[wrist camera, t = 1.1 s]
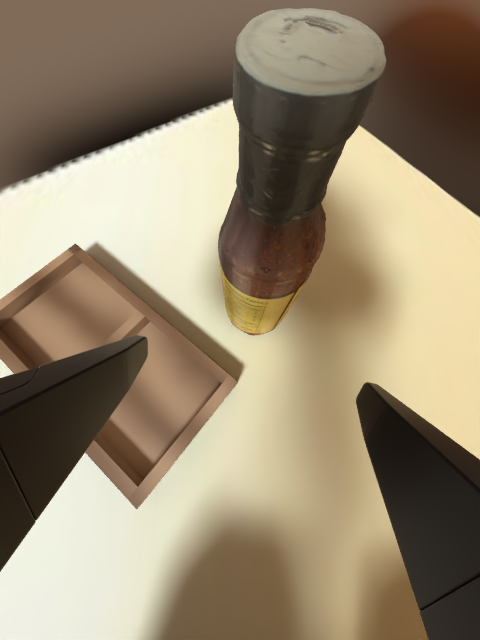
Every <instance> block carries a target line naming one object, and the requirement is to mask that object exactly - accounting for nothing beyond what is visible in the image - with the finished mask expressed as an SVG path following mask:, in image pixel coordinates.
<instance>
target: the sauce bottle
mask: <svg viewBox="0 0 480 640" xmlns="http://www.w3.org/2000/svg"><path fill="white" fill-rule="evenodd" d="M385 66H386V58H385V55H384V47H383V43H382V42H381V40H380V39H379V37H378V36H377V35H376V34H375V32H374V31H372V30H371V29H369V28H368V26H367V25H364V24H362V23H361V22H360V21H358V20H356V19H353V18H351V17H349V16H345V15H340V14H339V13H337V12H335V11H330V10H321V9H310V8H305V9H297V10H296V9H289V8H286V9H280V10H272V11H268V12H266V13H263V14H261V15H260V16H257V17H255V18H253V19H252V20H251V21H250V22H249V23H248V24H247V25H246V26H245V27H244V29H243V31H242V32H241V33H240V35H239V36H238V37H237V39H236V43H235V47H234V73H233V106H234V110H235V113H236V116H237V120H238V122H239V170H238V173H237V179H236V184H237V188H236V190H235V193H234V196H233V198H232V201H231V204H230V207H229V209H228V212H227V215H226V218H225V220H224V223H223V225H222V227H221V230H220V233H219V241H218V252H219V260H220V266H221V274H222V281H223V288H224V296H225V304H226V311H227V314H228V316H229V318H230V320H231V322H232V323H233V325H235V326H236V327H237V328H238V329H240V330H241V331H243V332H245V333H247V334H249V335H260V334H264V333H267V332H269V331H271V330H273V329H274V328H275V327H276V326H277V325H278V324H279V323H280V322H281V321H282V319H283V318H284V316H285V315H286V313H287V312H288V310H289V308H290V307H291V305H292V303H293V302H294V300H295V299H296V297H297V295H298V294H299V292H300V291H301V289H302V287H303V286H304V284H305V282H306V281H307V279H308V277H309V276H310V273H311V271H312V268H313V266H314V264H315V263H316V261H317V259H318V258H319V256H320V254H321V252H322V249H323V245H324V241H325V221H326V218H325V215H326V214H325V212H324V210H323V208H322V205H321V202H322V200H323V199H324V197H325V194H326V189H327V184H328V182H329V179H330V177H331V175H332V173H333V170H334V168H335V166H336V164H337V162H338V159H339V157H340V156H341V153H342V150H343V148H344V145H345V143H346V141H347V140H348V139H349V138H350V137H351V135H352V134H353V133H354V132H355V130H356V129H357V127H358V126H359V124H360V122H361V120H362V118H363V117H364V115H365V112H366V110H367V108H368V106H369V104H370V103H371V101H372V99H373V96H374V93H375V91H376V89H377V87H378V85H379V82H380V80H381V77H382V75H383V72H384V69H385Z"/></svg>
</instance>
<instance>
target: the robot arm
mask: <svg viewBox="0 0 480 640" xmlns="http://www.w3.org/2000/svg"><path fill="white" fill-rule="evenodd" d="M147 356H148V339H147V337H145V336H141V335H134V336H131V337H128V338H125V339H122V340H119V341H116V342H113V343H110V344H106V345H103V346H100V347H97V348H94V349H91V350H88V351H85V352H82V353H78V354H75V355H72V356H69V357H66V358H63V359H60V360H57V361H54V362H50V363H47V364H44V365H41V366H40V367H35V368H32V369H29V370H26V371H22V372H19V373H16V374H13V375H9V376H6V377H3V378H0V571H1V570H2V569H3V567H4V566H5V564H6V563H7V562H8V560H9V559H10V557H11V556H12V554H13V553H14V552H15V550H16V549H17V547H18V546H19V545H20V543H21V542H22V540H23V539H24V538H25V536H26V535H27V533H28V532H29V531H30V529H31V528H32V526H33V525H34V524H35V520H37V519H38V518H39V516H40V515H41V513H42V512H43V511H44V509H45V508H46V506H47V505H48V504H49V502H50V501H51V499H52V498H53V496H54V495H55V494H56V492H57V491H58V489H59V488H60V487H61V485H62V484H63V482H64V481H65V480H66V478H67V477H68V475H69V474H70V473H71V471H72V470H73V468H74V467H75V466H76V464H77V463H78V461H79V460H80V458H81V457H82V456H83V454H84V453H85V451H86V450H87V449H88V447H89V446H90V444H91V443H92V442H93V440H94V439H95V437H96V436H97V435H98V433H99V432H100V430H101V429H102V428H103V426H104V425H105V423H106V422H107V420H108V419H109V418H110V416H111V415H112V413H113V412H114V411H115V409H116V408H117V406H118V405H119V404H120V402H121V401H122V399H123V398H124V397H125V395H126V394H127V392H128V391H129V389H130V388H131V386H132V384H133V382H134V381H135V379H136V377H137V375H138V373H139V372H140V370H141V368H142V366H143V364H144V363H145V361H146V359H147ZM356 404H357V409H358V414H359V418H360V423H361V428H362V432H363V436H364V440H365V444H366V447H367V450H368V453H369V456H370V459H371V462H372V466H373V469H374V472H375V475H376V478H377V481H378V484H379V487H380V490H381V493H382V496H383V499H384V503H385V506H386V509H387V512H388V515H389V518H390V521H391V524H392V527H393V530H394V533H395V536H396V540H397V543H398V546H399V549H400V552H401V555H402V558H403V561H404V564H405V567H406V570H407V573H408V577H409V580H410V583H411V586H412V589H413V592H414V595H415V598H416V601H417V604H418V607H419V609H420V610H421V611H420V614H421V617H422V620H423V623H424V626H425V630H426V633H427V636H428V639H429V640H480V460H479V459H478V458H477V457H475V456H474V455H473V454H471V453H470V452H468V451H467V450H466V449H464V448H463V447H462V446H460V445H459V444H458V443H456V442H455V441H453V440H452V439H451V438H449V437H448V436H447V435H445V434H444V433H443V432H441V431H440V430H439V429H437V428H436V427H434V426H433V425H432V424H430V423H429V422H428V421H426V420H425V419H424V418H422V417H421V416H420V415H418V414H417V413H415V412H414V411H413V410H411V409H410V408H409V407H407V406H406V405H405V404H403V403H402V402H400V401H399V400H398V399H396V398H395V397H394V396H392V395H391V394H390V393H388V392H387V391H386V390H384V389H383V388H381V387H380V386H379V385H377V384H373V383H368V382H367V383H365V384H364V385H363V387H362V388H361V390H360V392H359V394H358V396H357V398H356Z"/></svg>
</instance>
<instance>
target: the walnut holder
mask: <svg viewBox="0 0 480 640" xmlns="http://www.w3.org/2000/svg"><path fill="white" fill-rule="evenodd" d="M134 335H141V336H145V337H147V339H148V356H147V359H146V361H145V363H144V364H143V366H142V368H141V370H140V372H139V373H138V375H137V377H136V379H135V381H134V382H133V384H132V386H131V388H130V389H129V391H128V392H127V394H126V395H125V397H124V398H123V399H122V401H121V402H120V404H119V405H118V406H117V408H116V409H115V411H114V412H113V413H112V415H111V416H110V418H109V419H108V420H107V422H106V423H105V425H104V426H103V428H102V429H101V430H100V432H99V433H98V435H97V436H96V437H95V439H94V440H93V442H92V443H91V444H90V446H89V447H88V449H87V450H86V451H85V453H86V454H87V455H88V456H89V457H90V458H91V459H92V460H93V461H94V463H95V464H96V465H97V466H98V467H99V468H100V469H101V470H102V471H103V473H104V474H105V475H106V476H107V477H108V478H109V479H110V480H111V481H112V482H113V484H114V485H115V486H116V487H117V488H118V489H119V490H120V491H121V492H122V493H123V495H124V496H125V497H126V498H127V499H128V500H129V501H130V502H131V503H132V505H133V506H134V507H135V508H136V509H138V507H139V506H140V505H141V504H142V503H143V501H144V500H145V499H146V498H147V497H148V495H149V494H150V493H151V492H152V490H153V489H154V488H155V486H156V485H157V484H158V483H159V481H160V480H161V479H162V478H163V476H164V475H165V474H166V473H167V471H168V470H169V469H170V468H171V466H172V465H173V464H174V462H175V461H176V460H177V459H178V457H179V456H180V455H181V454H182V452H183V451H184V450H185V449H186V447H187V446H188V445H189V444H190V442H191V441H192V440H193V438H194V437H195V436H196V435H197V433H198V432H199V431H200V430H201V428H202V427H203V426H204V425H205V423H206V422H207V421H208V420H209V418H210V417H211V416H212V414H213V413H214V412H215V411H216V409H217V408H218V407H219V406H220V404H221V403H222V402H223V401H224V399H225V398H226V397H227V396H228V394H229V393H230V392H231V390H232V389H233V388H234V387H235V385H236V384H237V383H238V382H237V381H236V380H235V379H234V378H233V377H231V376H230V375H229V374H228V373H227V372H226V371H224V370H223V369H222V368H221V367H220V366H219V365H217V364H216V363H215V362H214V361H213V360H212V359H210V358H209V357H208V356H207V355H206V354H204V353H203V352H202V351H201V350H200V349H199V348H197V347H196V346H195V345H194V344H193V343H192V342H190V341H189V340H188V339H187V338H186V337H184V336H183V335H182V334H181V333H180V332H179V331H177V330H176V329H175V328H174V327H173V326H172V325H170V324H169V323H168V322H167V321H166V320H165V319H163V318H162V317H161V316H160V315H159V314H157V313H156V312H155V311H154V310H153V309H152V308H150V307H149V306H148V305H147V304H146V303H145V302H143V301H142V300H141V299H140V298H139V297H138V296H136V295H135V294H134V293H133V292H132V291H130V290H129V289H128V288H127V287H126V286H125V285H123V284H122V283H121V282H120V281H119V280H118V279H116V278H115V277H114V276H113V275H112V274H111V273H109V272H108V271H107V270H106V269H105V268H103V267H102V266H101V265H100V264H99V263H98V262H96V261H95V260H94V259H93V258H92V257H91V256H89V255H88V254H87V253H86V252H85V251H84V250H82V249H81V248H80V247H79V246H78V245H76V244H74V245H73V246H72V247H70V248H69V249H68V250H66V251H65V252H64V253H62V254H61V255H60V256H58V257H57V258H56V259H54V260H53V261H52V262H50V263H49V264H48V265H46V266H45V267H43V268H42V269H41V270H39V271H38V272H37V273H35V274H34V275H33V276H31V277H30V278H29V279H27V280H26V281H25V282H23V283H22V284H21V285H19V286H18V287H17V288H15V289H14V290H13V291H11V292H10V293H9V294H7V295H6V296H5V297H3V298H2V299H1V300H0V359H1V360H2V361H3V362H4V363H5V364H6V365H7V367H8V368H9V369H10V370H11V371H12V372H13V373H14V374H16V373H19V372H22V371H26V370H29V369H32V368H35V367H40V366H41V365H44V364H47V363H50V362H54V361H57V360H60V359H63V358H66V357H69V356H72V355H75V354H78V353H82V352H85V351H88V350H91V349H94V348H97V347H100V346H103V345H106V344H110V343H113V342H116V341H119V340H122V339H125V338H128V337H131V336H134Z"/></svg>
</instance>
